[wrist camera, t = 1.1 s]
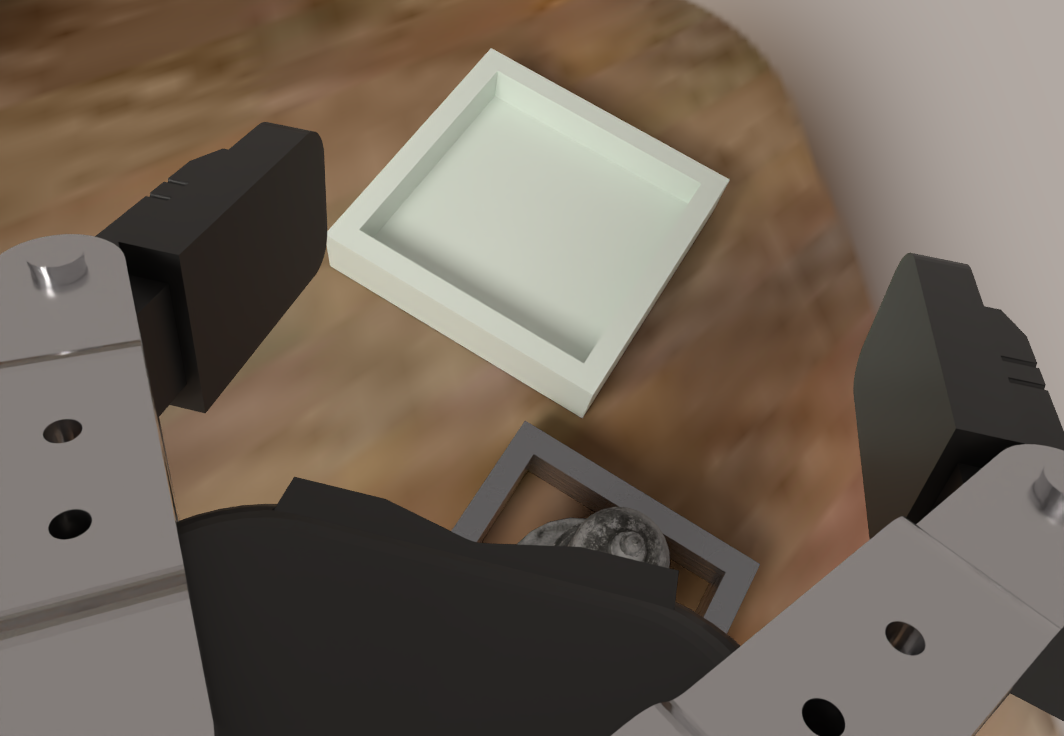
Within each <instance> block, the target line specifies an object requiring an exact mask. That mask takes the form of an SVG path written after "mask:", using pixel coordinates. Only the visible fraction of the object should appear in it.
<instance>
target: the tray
mask: <svg viewBox="0 0 1064 736" xmlns="http://www.w3.org/2000/svg"><path fill="white" fill-rule="evenodd" d="M728 182H729V179H728V178H726V177H724V176H722V175H720V174H719V173H717V172H715V171H713V170H711V169H709V168H708V167H706V166H704V165H702V164H700V163H699V162H697V161H695V160H693V159H691V158H689V157H688V156H686V155H684V154H682V153H680V152H679V151H677V150H675V149H673V148H671V147H670V146H668V145H666V144H664V143H662V142H660V141H659V140H657V139H655V138H653V137H651V136H650V135H648V134H646V133H644V132H642V131H640V130H639V129H637V128H635V127H633V126H631V125H630V124H628V123H626V122H624V121H622V120H620V119H619V118H617V117H615V116H613V115H611V114H610V113H608V112H606V111H604V110H602V109H601V108H599V107H597V106H595V105H593V104H591V103H590V102H588V101H586V100H584V99H582V98H581V97H579V96H577V95H575V94H573V93H571V92H570V91H568V90H566V89H564V88H562V87H561V86H559V85H557V84H555V83H553V82H551V81H550V80H548V79H546V78H544V77H542V76H541V75H539V74H537V73H535V72H533V71H532V70H530V69H528V68H526V67H524V66H522V65H521V64H519V63H517V62H515V61H513V60H512V59H510V58H508V57H506V56H504V55H502V54H501V53H499V52H497V51H495V50H493V49H492V48H491V49H490V50H489V51H488V52H487V53H486V55H485V56H484V57H483V58H482V59H481V60H480V61H479V62H478V63H477V65H476V66H475V67H474V68H473V69H472V70H471V71H470V72H469V74H468V75H467V76H466V77H465V78H464V79H463V80H462V81H461V83H460V84H459V85H458V86H457V87H456V88H455V89H454V90H453V91H452V93H451V94H450V95H449V96H448V97H447V98H446V99H445V100H444V102H443V103H442V104H441V105H440V106H439V107H438V108H437V109H436V111H435V112H434V113H433V114H432V115H431V116H430V117H429V118H428V119H427V121H426V122H425V123H424V124H423V125H422V126H421V127H420V128H419V130H418V131H417V132H416V133H415V134H414V135H413V136H412V137H411V139H410V140H409V141H408V142H407V143H406V144H405V145H404V146H403V147H402V149H401V150H400V151H399V152H398V153H397V154H396V155H395V156H394V158H393V159H392V160H391V161H390V162H389V163H388V164H387V165H386V167H385V168H384V169H383V170H382V171H381V172H380V173H379V174H378V175H377V177H376V178H375V179H374V180H373V181H372V182H371V183H370V184H369V186H368V187H367V188H366V189H365V190H364V191H363V192H362V193H361V195H360V196H359V197H358V198H357V199H356V200H355V201H354V202H353V203H352V205H351V206H350V207H349V208H348V209H347V210H346V211H345V212H344V214H343V215H342V216H341V217H340V218H339V219H338V220H337V221H336V223H335V224H334V225H333V226H332V227H331V228H330V229H329V230H328V231H327V243H326V244H327V250H328V256H329V262H330V266H331V267H333V268H334V269H336V270H338V271H339V272H341V273H343V274H344V275H346V276H348V277H349V278H351V279H353V280H354V281H356V282H358V283H359V284H361V285H363V286H364V287H366V288H368V289H369V290H371V291H372V292H374V293H376V294H377V295H379V296H381V297H382V298H384V299H386V300H387V301H389V302H391V303H392V304H394V305H396V306H397V307H399V308H401V309H402V310H404V311H406V312H407V313H409V314H411V315H412V316H414V317H416V318H417V319H419V320H420V321H422V322H424V323H425V324H427V325H429V326H430V327H432V328H434V329H435V330H437V331H439V332H440V333H442V334H444V335H445V336H447V337H449V338H450V339H452V340H454V341H455V342H457V343H459V344H460V345H462V346H463V347H465V348H467V349H468V350H470V351H472V352H473V353H475V354H477V355H478V356H480V357H482V358H483V359H485V360H487V361H488V362H490V363H492V364H493V365H495V366H497V367H498V368H500V369H502V370H503V371H505V372H506V373H508V374H510V375H511V376H513V377H515V378H516V379H518V380H520V381H521V382H523V383H525V384H526V385H528V386H530V387H531V388H533V389H535V390H536V391H538V392H540V393H541V394H543V395H545V396H546V397H548V398H549V399H551V400H553V401H554V402H556V403H558V404H559V405H561V406H563V407H564V408H566V409H568V410H569V411H571V412H573V413H574V414H576V415H578V416H579V417H581V418H583V417H584V415H585V413H586V412H587V410H588V409H589V407H590V405H591V404H592V402H593V401H594V399H595V398H596V396H597V394H598V393H599V391H600V390H601V388H602V386H603V385H604V383H605V382H606V380H607V379H608V377H609V375H610V374H611V372H612V371H613V369H614V367H615V366H616V364H617V363H618V361H619V360H620V358H621V356H622V355H623V353H624V352H625V350H626V348H627V347H628V345H629V344H630V342H631V341H632V339H633V337H634V336H635V334H636V333H637V331H638V330H639V328H640V326H641V325H642V323H643V322H644V320H645V318H646V317H647V315H648V314H649V312H650V311H651V309H652V307H653V306H654V304H655V303H656V301H657V299H658V298H659V296H660V295H661V293H662V292H663V290H664V288H665V287H666V285H667V284H668V282H669V280H670V279H671V277H672V276H673V274H674V273H675V271H676V269H677V268H678V266H679V265H680V263H681V261H682V260H683V258H684V257H685V255H686V254H687V252H688V250H689V249H690V247H691V246H692V244H693V243H694V241H695V239H696V238H697V236H698V235H699V233H700V231H701V230H702V228H703V227H704V225H705V224H706V222H707V220H708V219H709V217H710V216H711V214H712V212H713V211H714V209H715V207H716V205H717V203H718V201H719V199H720V197H721V196H722V194H723V192H724V190H725V188H726V186H727V184H728Z"/></svg>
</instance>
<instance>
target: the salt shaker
mask: <svg viewBox="0 0 1064 736" xmlns="http://www.w3.org/2000/svg"><path fill="white" fill-rule="evenodd" d="M517 545H544V546H572V547H584V548H588V549H592V550H596V551H600V552H604V553H608V554H612V555H616V556H620V557H625V558H629V559H633V560H637V561H641V562H645V563H649V564H653V565H657V566H661V567H665V568H669V566H670V558H669V549H668V545H667V542H666V539H665V537H664V535H663V533H662V532H661V530H660V528H659V527H658V526H657V525H656V524H655V523H654V522H653V521H652V520H651V519H650V518H649V517H648V516H646V515H645V514H643V513H641V512H640V511H637V510H634V509H631V508H628V507H611V508H606V509H602V510H600V511H598V512H596V513H594V514H592V515H590V516H589V517H588V518H587V519H584V518H566V519H561V520H557V521H552V522H549V523H547V524H545V525H543V526H541V527H539V528H537V529H535V530H533V531H531V532H530V533H529V534H528V535H527V536H525V537H524V538H523V539H522V540H521V541H520V542H519V543H518V544H517Z"/></svg>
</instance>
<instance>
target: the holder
mask: <svg viewBox="0 0 1064 736" xmlns="http://www.w3.org/2000/svg"><path fill="white" fill-rule="evenodd" d="M527 471H530V472H531V473H533V474H535V475H536V476H538V477H539V478H541V479H543V480H544V481H546V482H547V483H549V484H551V485H552V486H554V487H556V488H557V489H559V490H560V491H562V492H564V493H565V494H567V495H568V496H570V497H572V498H573V499H575V500H577V501H578V502H580V503H581V504H583V505H585V506H586V507H588V508H590V509H591V510H593V511H594V512H598V511H600V510H602V509H606V508H611V507H628V508H631V509H634V510H637V511H640V512H641V513H643V514H645V515H646V516H648V517H649V518H650V519H651V520H652V521H653V522H654V523H655V524H656V525H657V526H658V527H659V528H660V530H661V532H662V533H663V535H664V537H665V539H666V542H667V545H668V549H669V558H670V559H672V560H674V561H675V562H677V563H678V564H680V565H682V566H683V567H685V568H686V569H688V570H690V571H691V572H693V573H695V574H696V575H698V576H699V577H701V578H703V579H704V580H706V581H707V582H709V583H710V584H709V586H708V588H707V590H706V592H705V594H704V596H703V598H702V600H701V602H700V604H699V606H698V608H697V610H696V613H697V614H699V615H700V616H702V617H704V618H705V619H707V620H708V621H710V622H712V623H713V624H714V625H716V626H717V627H718V628H720V629H721V630H722V631H723V632H725V633H726V634H727V632H728V630H729V628H730V626H731V624H732V622H733V620H734V618H735V616H736V613H737V611H738V609H739V607H740V605H741V603H742V601H743V599H744V597H745V595H746V593H747V590H748V588H749V586H750V584H751V582H752V580H753V578H754V576H755V574H756V572H757V570H758V568H759V565H760V564H759V563H757V562H756V561H754V560H752V559H751V558H749V557H748V556H746V555H744V554H743V553H741V552H739V551H738V550H736V549H734V548H733V547H731V546H730V545H728V544H726V543H725V542H723V541H721V540H720V539H718V538H716V537H715V536H713V535H712V534H710V533H708V532H707V531H705V530H703V529H702V528H700V527H698V526H697V525H695V524H693V523H692V522H690V521H689V520H687V519H685V518H684V517H682V516H680V515H679V514H677V513H675V512H674V511H672V510H671V509H669V508H667V507H666V506H664V505H662V504H661V503H659V502H657V501H656V500H654V499H653V498H651V497H649V496H648V495H646V494H644V493H643V492H641V491H639V490H638V489H636V488H635V487H633V486H631V485H630V484H628V483H626V482H625V481H623V480H621V479H620V478H618V477H617V476H615V475H613V474H612V473H610V472H608V471H607V470H605V469H603V468H602V467H600V466H599V465H597V464H595V463H594V462H592V461H590V460H589V459H587V458H585V457H584V456H582V455H581V454H579V453H577V452H576V451H574V450H572V449H571V448H569V447H567V446H566V445H564V444H563V443H561V442H559V441H558V440H556V439H554V438H553V437H551V436H549V435H548V434H546V433H544V432H543V431H541V430H540V429H538V428H536V427H535V426H533V425H531V424H530V423H528V422H526V421H525V422H524V423H523V425H522V426H521V428H520V429H519V431H518V432H517V434H516V435H515V437H514V438H513V440H512V441H511V443H510V444H509V446H508V447H507V449H506V450H505V452H504V453H503V455H502V456H501V458H500V459H499V461H498V462H497V464H496V465H495V467H494V468H493V470H492V471H491V473H490V474H489V476H488V477H487V479H486V480H485V482H484V483H483V485H482V486H481V488H480V489H479V491H478V492H477V494H476V495H475V497H474V498H473V500H472V501H471V503H470V504H469V506H468V507H467V509H466V510H465V512H464V513H463V515H462V516H461V518H460V519H459V521H458V522H457V524H456V525H455V527H454V528H453V530H452V531H451V532H453V533H455V534H458V535H460V536H462V537H464V538H466V539H468V540H471V541H474V542H478V543H481V542H482V540H483V539H484V537H485V536H486V534H487V533H488V531H489V530H490V528H491V526H492V525H493V523H494V522H495V520H496V519H497V517H498V516H499V514H500V513H501V511H502V509H503V508H504V506H505V505H506V503H507V502H508V500H509V499H510V497H511V495H512V494H513V492H514V491H515V489H516V488H517V486H518V485H519V483H520V482H521V480H522V478H523V477H524V475H525V474H526V472H527Z"/></svg>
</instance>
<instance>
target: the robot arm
mask: <svg viewBox="0 0 1064 736" xmlns="http://www.w3.org/2000/svg"><path fill="white" fill-rule="evenodd" d="M326 243H327V212H326V189H325V166H324V149H323V143H322V140H321V138H320V136H319V134H318V133H316V132H313V131H308V130H303V129H298V128H293V127H288V126H283V125H278V124H273V123H268V122H263V123H261V124H259V125H258V126H257V127H255V128H254V129H253V130H252V131H250V132H249V133H248V134H247V135H246V136H244V137H243V138H242V139H241V140H240V141H238V142H237V143H236V144H235V145H234V146H232V147H231V148H230V149H229V150H227V149H221V150H218V151H215V152H213V153H210V154H207V155H205V156H202V157H199V158H197V159H194V160H191V161H189V162H188V163H187V164H186V165H184V166H183V167H182V168H181V169H179V170H178V171H177V172H176V173H174V174H173V175H172V176H171V177H169V178H168V183H167V182H163V183H162V184H161V185H159V186H158V187H157V188H156V189H154V190H153V191H152V192H150V197H147V196H145V197H144V198H143V199H142V200H140V201H139V202H138V203H137V204H135V205H134V206H133V207H132V208H130V209H129V210H128V211H127V212H125V213H124V214H123V215H122V216H120V217H119V218H118V219H117V220H115V221H114V222H113V223H112V224H110V225H109V226H108V227H107V228H105V229H104V230H103V231H102V232H100V233H99V234H98V235H96V236H95V237H94V236H89V235H79V234H64V235H53V236H47V237H41V238H37V239H33V240H30V241H27V242H24V243H21V244H19V245H16V246H14V247H12V248H10V249H9V250H7V251H5V252H3V253H2V254H1V255H0V736H975V735H976V733H977V732H978V731H979V730H980V729H981V727H982V726H983V725H984V724H985V723H986V721H987V720H988V719H989V718H990V717H991V715H992V714H993V713H994V712H995V711H996V709H997V708H998V707H999V706H1000V705H1001V703H1002V702H1003V701H1004V700H1005V699H1006V697H1007V696H1008V695H1009V694H1010V693H1011V694H1013V695H1015V696H1016V697H1018V698H1020V699H1022V700H1024V701H1026V702H1028V703H1030V704H1032V705H1034V706H1036V707H1038V708H1039V709H1041V710H1043V711H1045V712H1047V713H1049V714H1051V715H1053V716H1055V717H1057V718H1059V719H1060V720H1062V721H1064V431H1063V428H1062V426H1061V423H1060V421H1059V418H1058V415H1057V413H1056V410H1055V408H1054V405H1053V403H1052V400H1051V398H1050V395H1049V393H1048V391H1046V390H1044V388H1045V382H1044V380H1043V377H1042V374H1041V372H1040V369H1039V368H1036V364H1037V362H1036V359H1035V356H1034V354H1033V352H1032V349H1031V346H1030V344H1029V341H1028V339H1027V336H1026V335H1025V334H1024V333H1023V332H1022V331H1021V330H1020V329H1019V328H1018V327H1017V326H1016V325H1015V324H1014V323H1013V322H1012V321H1011V320H1010V319H1009V318H1008V317H1007V316H1006V315H1005V314H1004V313H1003V312H1002V311H1001V310H999V309H994V308H989V307H985V306H984V305H983V302H982V299H981V296H980V294H979V291H978V288H977V285H976V282H975V279H974V276H973V273H972V270H971V268H970V267H969V265H967V264H963V263H958V262H953V261H948V260H943V259H938V258H933V257H928V256H923V255H918V254H913V253H908V254H906V255H905V256H904V257H903V258H902V260H901V261H900V263H899V265H898V267H897V269H896V271H895V273H894V276H893V278H892V280H891V282H890V285H889V287H888V289H887V292H886V295H885V296H884V299H883V301H882V303H881V306H880V308H879V310H878V312H877V315H876V317H875V319H874V322H873V324H872V326H871V329H870V331H869V333H868V335H867V338H866V340H865V342H864V345H863V347H862V350H861V353H860V355H859V359H858V362H857V367H856V371H855V377H854V390H853V391H854V402H855V411H856V420H857V429H858V438H859V447H860V456H861V465H862V474H863V483H864V492H865V501H866V510H867V519H868V528H869V537H870V540H869V541H868V542H867V543H865V544H864V545H863V546H862V547H860V548H859V549H858V550H857V551H856V552H854V553H853V554H852V555H851V556H850V557H848V558H847V559H846V560H845V561H844V562H842V563H841V564H840V565H839V566H837V567H836V568H835V569H834V570H833V571H831V572H830V573H829V574H828V575H827V576H825V577H824V578H823V579H822V580H820V581H819V582H818V583H817V584H816V585H814V586H813V587H812V588H811V589H810V590H808V591H807V592H806V593H805V594H803V595H802V596H801V597H800V598H799V599H797V600H796V601H795V602H794V603H793V604H791V605H790V606H789V607H788V608H787V609H785V610H784V611H783V612H782V613H780V614H779V615H778V616H777V617H776V618H774V619H773V620H772V621H771V622H770V623H768V624H767V625H766V626H765V627H763V628H762V629H761V630H760V631H759V632H757V633H756V634H755V635H754V636H753V637H751V638H750V639H749V640H748V641H746V642H745V643H744V644H743V645H742V646H740V645H739V644H738V643H737V642H736V641H735V640H734V639H733V638H731V637H730V636H729V635H727V634H726V633H725V632H723V631H722V630H721V629H720V628H718V627H717V626H716V625H714V624H713V623H712V622H710V621H708V620H707V619H705V618H704V617H702V616H700V615H699V614H697V613H696V612H694V611H692V610H691V609H689V608H687V607H685V606H683V605H681V604H679V603H677V602H675V599H676V590H677V581H678V572H679V571H678V570H674V569H670V568H665V567H661V566H657V565H653V564H649V563H645V562H641V561H637V560H633V559H629V558H625V557H620V556H616V555H612V554H608V553H604V552H600V551H596V550H592V549H588V548H584V547H572V546H544V545H516V544H489V543H478V542H474V541H471V540H468V539H466V538H464V537H462V536H460V535H458V534H455V533H453V532H451V531H449V530H447V529H445V528H443V527H441V526H439V525H437V524H435V523H433V522H431V521H429V520H427V519H425V518H423V517H421V516H419V515H417V514H415V513H413V512H411V511H409V510H407V509H405V508H403V507H401V506H399V505H396V504H394V503H392V502H390V501H388V500H386V499H383V498H379V497H375V496H371V495H367V494H363V493H359V492H354V491H350V490H346V489H342V488H338V487H334V486H330V485H326V484H322V483H318V482H314V481H309V480H305V479H301V478H297V477H294V478H293V480H292V481H291V483H290V485H289V486H288V488H287V489H286V491H285V493H284V494H283V496H282V498H281V499H280V501H279V502H278V504H257V505H242V506H236V507H230V508H223V509H218V510H214V511H210V512H206V513H202V514H198V515H195V516H192V517H189V518H186V519H183V520H180V519H179V514H178V509H177V504H176V499H175V494H174V489H173V484H172V479H171V474H170V469H169V464H168V459H167V454H166V449H165V444H164V439H163V434H162V429H161V424H160V420H159V416H160V415H161V414H162V413H163V411H164V410H165V409H166V408H167V407H168V406H169V405H173V406H177V407H181V408H185V409H190V410H194V411H198V412H202V413H206V412H207V411H208V409H209V408H210V407H211V406H212V404H213V403H214V402H215V401H216V399H217V398H218V397H219V396H220V394H221V393H222V392H223V391H224V389H225V388H226V387H227V386H228V384H229V383H230V382H231V380H232V379H233V378H234V377H235V375H236V374H237V373H238V372H239V370H240V369H241V368H242V367H243V365H244V364H245V363H246V362H247V360H248V359H249V358H250V357H251V355H252V354H253V353H254V352H255V350H256V349H257V348H258V346H259V345H260V344H261V343H262V341H263V340H264V339H265V338H266V336H267V335H268V334H269V333H270V331H271V330H272V329H273V328H274V326H275V325H276V324H277V323H278V321H279V320H280V319H281V317H282V316H283V315H284V314H285V312H286V311H287V310H288V309H289V307H290V306H291V305H292V304H293V302H294V301H295V300H296V299H297V297H298V296H299V295H300V294H301V292H302V291H303V290H304V289H305V287H306V286H307V285H308V283H309V282H310V281H311V280H312V278H313V277H314V276H315V275H316V273H317V272H318V270H319V268H320V266H321V263H322V260H323V258H324V254H325V249H326Z"/></svg>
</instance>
